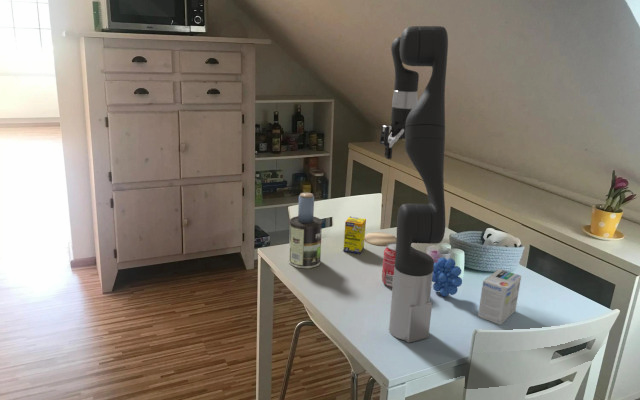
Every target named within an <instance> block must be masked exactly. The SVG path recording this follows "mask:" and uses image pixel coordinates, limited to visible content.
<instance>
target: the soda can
mask: <svg viewBox="0 0 640 400" xmlns="http://www.w3.org/2000/svg"><path fill="white" fill-rule="evenodd" d="M395 254H396V243H389V244H387V246H386V247H385V249H384V251H383V261H382V269H381V271H382V273H381V280H382V284H384V285H386V287H390V288H393V278H394V267H395Z"/></svg>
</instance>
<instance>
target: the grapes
mask: <svg viewBox="0 0 640 400" xmlns="http://www.w3.org/2000/svg"><path fill="white" fill-rule="evenodd" d="M461 274H462V268H461V267H460V266H457V265H456V261H455V260H454V259H453V258H448V259H447V258H446V257H439V258H438V260H437V262H434V269H433V277H432V283H433V284H432V289H433V290H434V291H435V292H439V293H440V295H441V297H447V296H449V295H450V296H454V295H456V294H457V293H458V289H459V287H461V286H462V284H463V279H462V278H461V277H460V275H461Z"/></svg>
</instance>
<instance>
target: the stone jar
mask: <svg viewBox="0 0 640 400" xmlns="http://www.w3.org/2000/svg"><path fill="white" fill-rule="evenodd" d="M297 207H298V208H297V209H298V210H297V211H298V212H297V216H298V221H299V222H301V223H312V222H313V217H315V216H314V215H315V214H314V213H315V195H314V193H311V192H301V193H300V194H299V195H298V206H297Z"/></svg>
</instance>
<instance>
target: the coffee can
mask: <svg viewBox="0 0 640 400" xmlns="http://www.w3.org/2000/svg"><path fill="white" fill-rule="evenodd" d="M322 227H323V220H322V219H321V218H320V217H317V216H314V217H313V222H312V223H301V222H299V221H298V215H297V216H293V217H291V218H290V219H289V252H288V253H289V255H288V258H289V259H288V263H289V265H291V266H293V267H295V268H299V269H312V268H313V269H314V268H316V267H318V266H319V265H321V256H322V255H321V253H322Z"/></svg>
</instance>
